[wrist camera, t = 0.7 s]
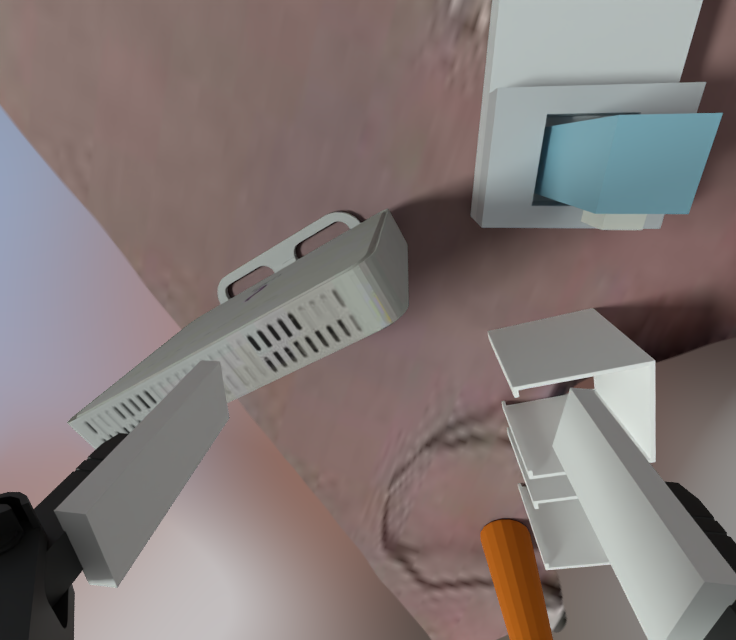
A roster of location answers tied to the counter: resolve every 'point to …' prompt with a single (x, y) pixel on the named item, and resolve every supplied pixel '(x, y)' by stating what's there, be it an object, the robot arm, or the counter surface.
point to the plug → (626, 165)
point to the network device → (271, 320)
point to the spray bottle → (516, 579)
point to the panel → (583, 48)
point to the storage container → (542, 417)
